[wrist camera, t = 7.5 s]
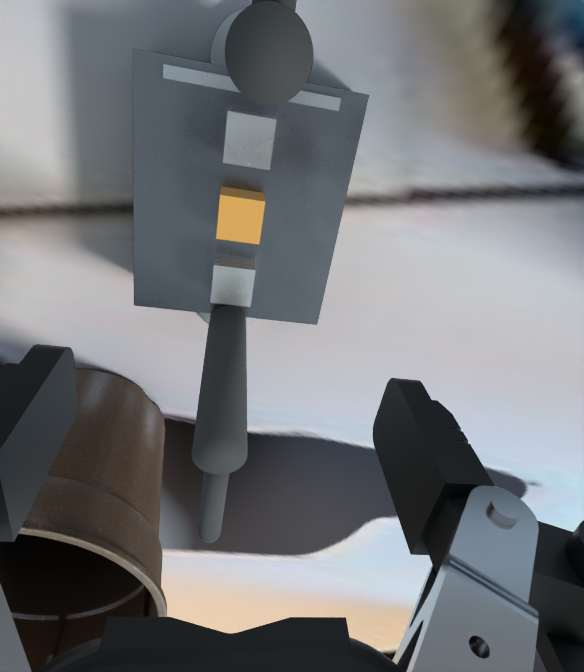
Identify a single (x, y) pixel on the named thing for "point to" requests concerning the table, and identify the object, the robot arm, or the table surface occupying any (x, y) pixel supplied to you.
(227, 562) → the table surface
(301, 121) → the grey block holder
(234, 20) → the cable post
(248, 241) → the orange matte cube
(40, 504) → the plant pot
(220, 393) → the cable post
